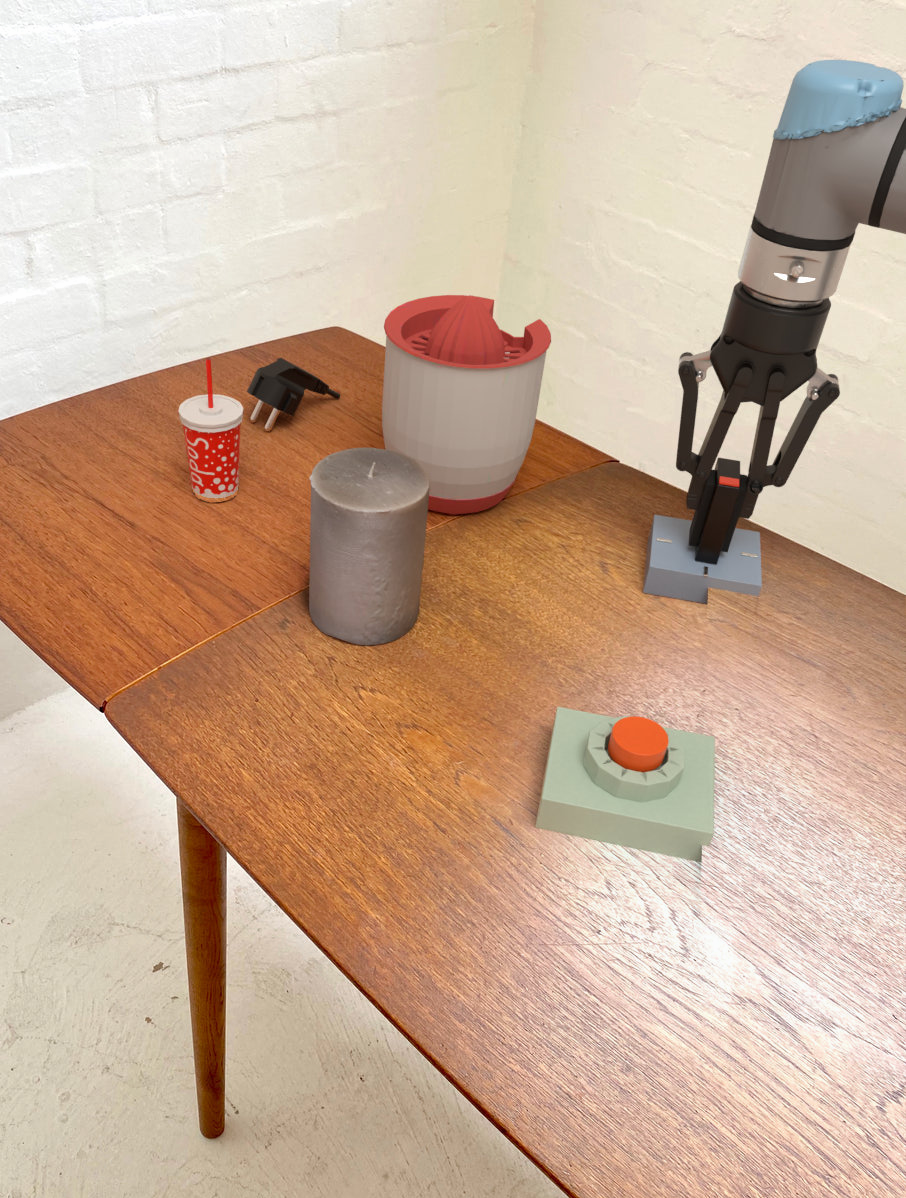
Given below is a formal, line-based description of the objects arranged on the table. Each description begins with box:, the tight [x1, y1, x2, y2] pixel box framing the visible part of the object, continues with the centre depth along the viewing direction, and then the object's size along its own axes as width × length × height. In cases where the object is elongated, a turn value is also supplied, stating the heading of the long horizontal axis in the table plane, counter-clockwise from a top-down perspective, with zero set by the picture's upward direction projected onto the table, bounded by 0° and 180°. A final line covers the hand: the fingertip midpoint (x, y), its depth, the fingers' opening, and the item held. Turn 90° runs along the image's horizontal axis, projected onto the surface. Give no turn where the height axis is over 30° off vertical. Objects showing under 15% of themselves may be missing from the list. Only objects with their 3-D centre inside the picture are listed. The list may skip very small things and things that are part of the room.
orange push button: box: [608, 715, 669, 772], centre depth 79 cm, size 4×4×2 cm
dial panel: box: [642, 514, 763, 605], centre depth 104 cm, size 10×9×3 cm
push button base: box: [534, 706, 716, 863], centre depth 81 cm, size 12×10×5 cm
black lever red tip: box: [695, 457, 741, 564], centre depth 100 cm, size 5×2×8 cm, turn 166°
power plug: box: [246, 357, 341, 432], centre depth 123 cm, size 6×8×12 cm
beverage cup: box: [178, 357, 244, 499], centre depth 107 cm, size 6×6×14 cm
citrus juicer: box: [381, 294, 552, 516], centre depth 108 cm, size 16×17×20 cm
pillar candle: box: [308, 447, 430, 646], centre depth 93 cm, size 10×10×15 cm
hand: (708, 540), depth 102 cm, fingers closed on black lever red tip, 2 cm apart
